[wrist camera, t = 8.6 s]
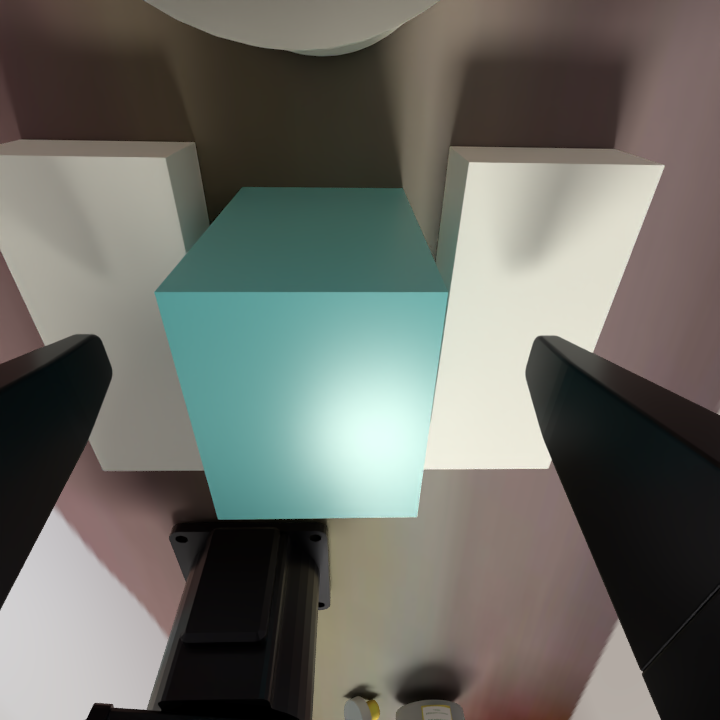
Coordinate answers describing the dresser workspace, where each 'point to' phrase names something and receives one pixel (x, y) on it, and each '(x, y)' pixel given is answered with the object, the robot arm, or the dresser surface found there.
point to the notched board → (454, 261)
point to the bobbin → (297, 21)
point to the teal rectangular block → (309, 352)
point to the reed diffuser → (404, 710)
